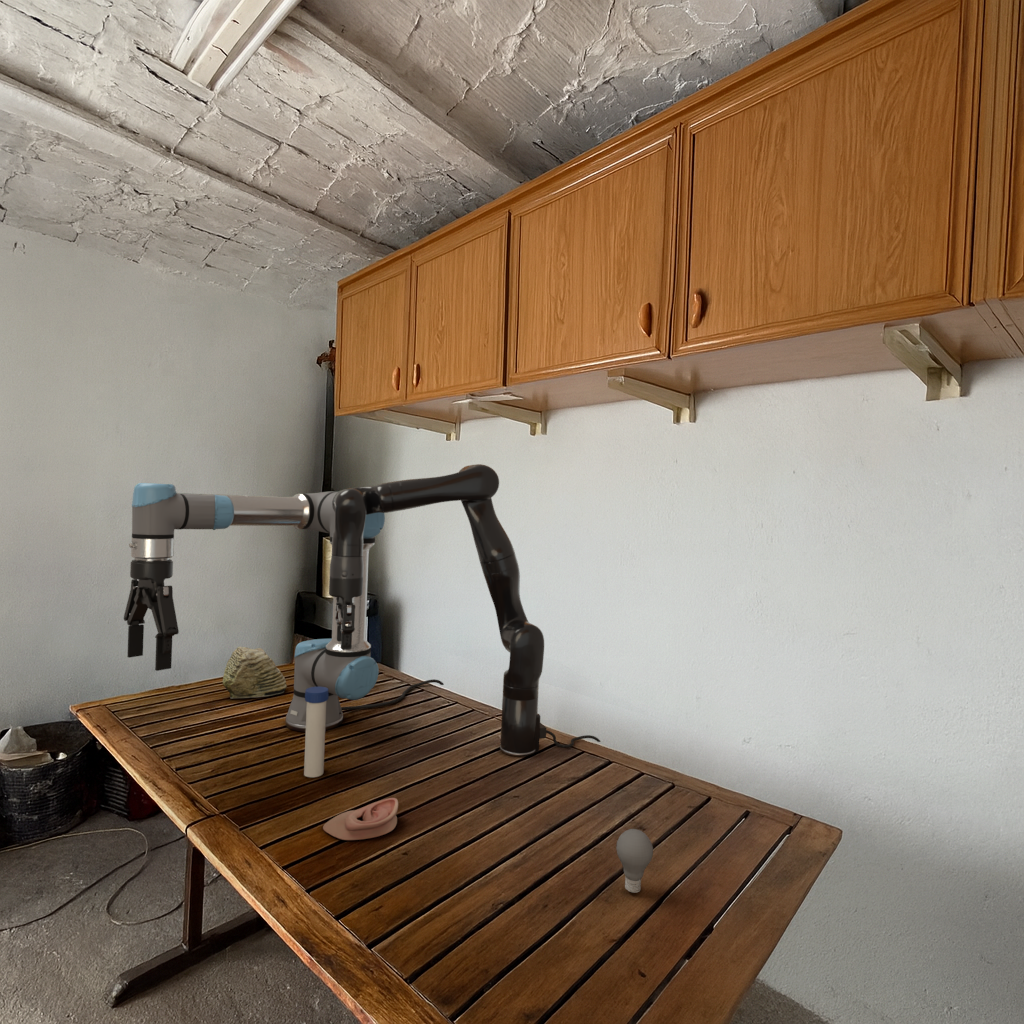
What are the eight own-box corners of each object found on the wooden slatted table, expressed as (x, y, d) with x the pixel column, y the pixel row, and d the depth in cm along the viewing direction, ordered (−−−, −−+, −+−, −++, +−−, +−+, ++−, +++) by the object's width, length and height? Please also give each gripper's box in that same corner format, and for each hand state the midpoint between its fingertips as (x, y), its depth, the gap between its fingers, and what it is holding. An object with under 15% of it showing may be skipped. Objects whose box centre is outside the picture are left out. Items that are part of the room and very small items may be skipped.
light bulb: (610, 879, 108) (613, 822, 108) (644, 879, 109) (647, 822, 109) (619, 902, 102) (622, 840, 102) (655, 901, 103) (658, 840, 103)
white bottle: (327, 772, 146) (330, 690, 145) (314, 779, 142) (317, 695, 142) (313, 767, 148) (316, 687, 147) (299, 774, 144) (303, 692, 143)
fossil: (218, 695, 195) (220, 647, 195) (278, 685, 208) (279, 640, 207) (228, 703, 189) (230, 653, 188) (289, 692, 201) (290, 645, 201)
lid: (333, 698, 146) (333, 688, 146) (317, 704, 141) (317, 694, 141) (316, 694, 148) (316, 685, 148) (299, 700, 143) (300, 690, 143)
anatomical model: (315, 814, 118) (343, 787, 129) (314, 835, 118) (343, 807, 129) (382, 825, 115) (405, 796, 127) (381, 846, 116) (404, 816, 127)
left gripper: (108, 554, 134) (104, 654, 134) (159, 565, 118) (155, 678, 119) (146, 552, 140) (143, 648, 140) (199, 563, 124) (195, 671, 124)
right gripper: (367, 579, 141) (365, 651, 141) (358, 571, 154) (355, 637, 154) (333, 579, 138) (330, 653, 138) (326, 571, 151) (323, 639, 151)
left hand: (148, 662), depth 129 cm, fingers open, 13 cm apart
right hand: (343, 645), depth 146 cm, fingers open, 8 cm apart
